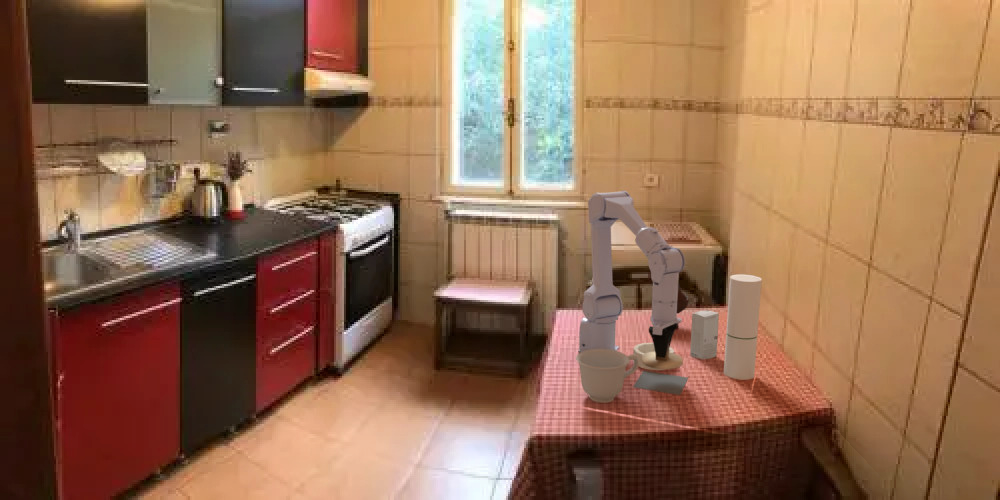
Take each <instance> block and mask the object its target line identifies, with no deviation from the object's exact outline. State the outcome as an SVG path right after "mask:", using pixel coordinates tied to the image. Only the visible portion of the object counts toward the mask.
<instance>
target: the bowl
mask: <svg viewBox="0 0 1000 500" xmlns="http://www.w3.org/2000/svg"><path fill="white" fill-rule="evenodd" d="M632 349H633V350H632V355H635V356H636V357H637V358H638V362H639V365H638V368H642V369H645V370H648V371H663V370H666V369H657V368H652V367H649V366H646V365H645V364H643V363H642V355H644V354H645V353H648V352H655V348H654V343H653V342H643V343H639V344H635V345H634V346H633V348H632ZM669 352H670V353H674V354H675V349H674V348H672V346H670V348H669ZM632 362H633V364H634V360H633V359H632Z"/></svg>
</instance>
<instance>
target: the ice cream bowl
mask: <svg viewBox="0 0 1000 500" xmlns="http://www.w3.org/2000/svg"><path fill="white" fill-rule="evenodd" d="M689 301H690V296H689V295H686V294H685V293H684V292H683V291H682V288H681V286H680V284H679V283H678V297H677V314H680V313H682V312H683V311H684V310H686V309H687V307H688V305H689ZM678 327H679V325H678V326H677V327H676V329H675V330H678V329H679V328H678Z"/></svg>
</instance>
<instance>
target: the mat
mask: <svg viewBox="0 0 1000 500" xmlns="http://www.w3.org/2000/svg"><path fill="white" fill-rule="evenodd" d="M688 379H689V376H688V377H686V376H680V375H675V374H669V373H661V372H655V371H651V370H642V372H641V374H640V375H639V376H638V378H637V380H636V381H635V383H634V384H633V386H632V388H635V389H636V388H637V389H642V390H647V391H653V392H658V393H659V392H660V393H666V394H672V395H676V396H677V395H678V396H681V394H682V392H683V390H684V388H685V385H686V383H687V382H688Z"/></svg>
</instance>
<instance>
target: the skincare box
mask: <svg viewBox="0 0 1000 500" xmlns="http://www.w3.org/2000/svg"><path fill="white" fill-rule="evenodd" d="M719 317H720V313H719V312H717V311H712V310H708V309H705V310H699V311H696V312H692V313H691V332H690V333H691V334H690V351H689V353H690V354H689V356H690V357H692V358H697V359H699V360H710V359H712V358H716V357H717V356H718V354H717V353H718V341H719V340H718V338H719Z"/></svg>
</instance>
